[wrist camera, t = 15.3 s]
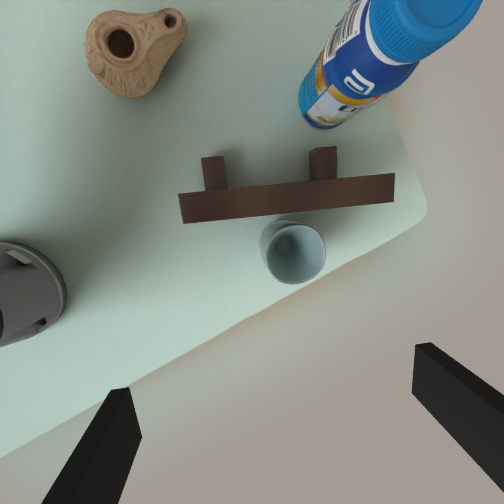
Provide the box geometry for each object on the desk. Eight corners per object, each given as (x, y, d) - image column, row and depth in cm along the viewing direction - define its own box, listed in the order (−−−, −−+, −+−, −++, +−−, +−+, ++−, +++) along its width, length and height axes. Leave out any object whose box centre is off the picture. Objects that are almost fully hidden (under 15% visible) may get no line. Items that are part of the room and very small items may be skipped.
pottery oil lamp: (206, 65, 32) (190, 67, 26) (137, 104, 36) (112, 113, 30) (168, -26, 27) (139, -46, 22) (93, 30, 31) (53, 25, 25)
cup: (307, 256, 40) (331, 275, 30) (262, 269, 40) (273, 292, 30) (297, 211, 38) (320, 216, 28) (250, 224, 38) (257, 233, 28)
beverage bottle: (332, 53, 33) (476, -144, 14) (361, 108, 35) (522, 3, 16) (284, 92, 34) (357, -47, 15) (315, 144, 36) (416, 82, 17)
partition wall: (198, 214, 37) (182, 224, 24) (191, 162, 35) (169, 142, 22) (339, 200, 38) (394, 201, 26) (339, 148, 36) (397, 123, 24)
